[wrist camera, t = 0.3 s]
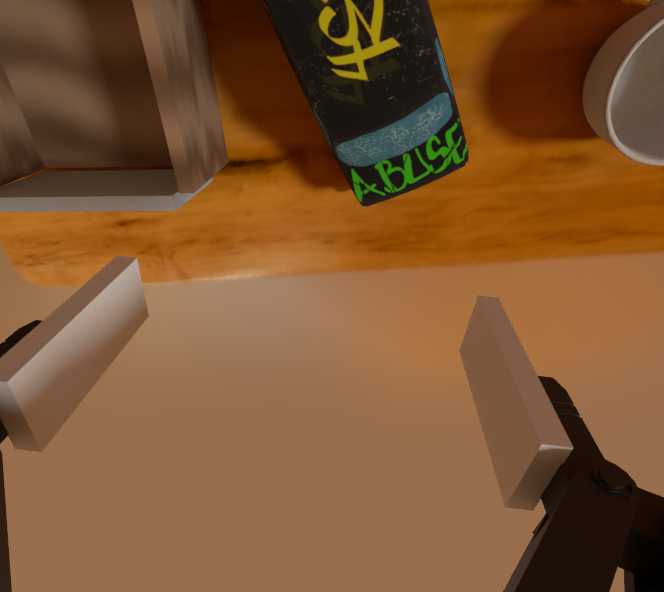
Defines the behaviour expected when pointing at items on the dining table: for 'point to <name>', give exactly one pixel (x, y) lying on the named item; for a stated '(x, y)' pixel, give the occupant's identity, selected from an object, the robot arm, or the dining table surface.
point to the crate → (108, 88)
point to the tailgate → (95, 191)
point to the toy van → (375, 89)
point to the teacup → (630, 87)
